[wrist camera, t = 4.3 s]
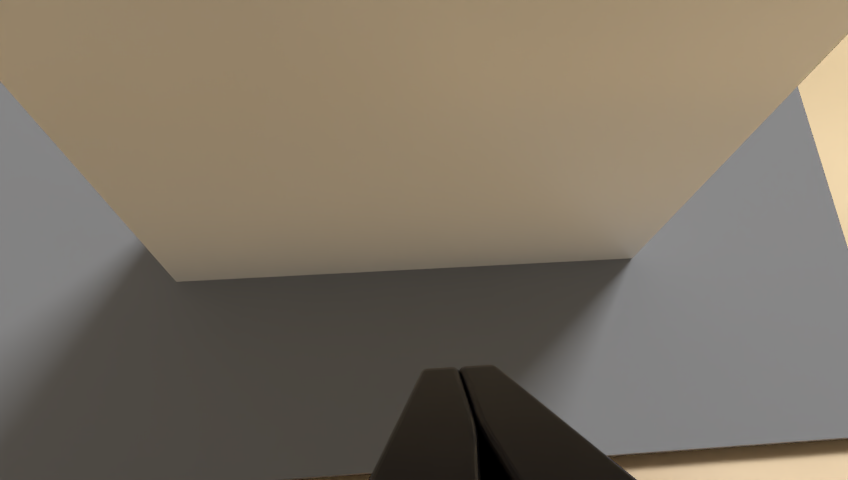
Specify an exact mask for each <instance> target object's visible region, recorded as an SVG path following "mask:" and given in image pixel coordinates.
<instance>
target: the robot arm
mask: <svg viewBox="0 0 848 480" xmlns="http://www.w3.org/2000/svg"><path fill="white" fill-rule="evenodd" d="M369 480H636V479H635V478H634V477H633V476H631V475H630V474H629V473H628V472H626V471H625V470H624V469H623V468H621V467H620V466H619V465H618V464H616V463H615V462H614V461H613V460H612V459H610V458H609V457H608V456H607V455H605V454H604V453H603V452H602V451H600V450H599V449H598V448H597V447H595V446H594V445H593V444H592V443H591V442H589V441H588V440H587V439H586V438H584V437H583V436H582V435H581V434H579V433H578V432H577V431H576V430H574V429H573V428H572V427H571V426H570V425H568V424H567V423H566V422H565V421H563V420H562V419H561V418H560V417H558V416H557V415H556V414H555V413H553V412H552V411H551V410H550V409H548V408H547V407H546V406H545V405H544V404H542V403H541V402H540V401H539V400H537V399H536V398H535V397H534V396H532V395H531V394H530V393H529V392H527V391H526V390H525V389H524V388H523V387H521V386H520V385H519V384H518V383H516V382H515V381H514V380H513V379H511V378H510V377H509V376H508V375H506V374H505V373H504V372H503V371H502V370H500V369H499V368H498V367H496V366H494V365H490V364H489V365H474V366H464V367H462V368H460V370H459V371H458V369H456V368H455V367H442V368H427V369H424V370H423V371H422V372H421V374H420V376H419V378H418V380H417V382H416V384H415V386H414V388H413V390H412V392H411V394H410V396H409V398H408V400H407V402H406V404H405V407H404V409H403V411H402V413H401V415H400V417H399V419H398V421H397V423H396V425H395V427H394V429H393V431H392V433H391V435H390V437H389V439H388V441H387V443H386V446H385V448H384V450H383V452H382V454H381V456H380V458H379V460H378V462H377V464H376V466H375V468H374V470H373V472H372V474H371V476H370V478H369Z"/></svg>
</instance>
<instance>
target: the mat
mask: <svg viewBox="0 0 848 480" xmlns="http://www.w3.org/2000/svg"><path fill="white" fill-rule="evenodd" d="M489 364H490V365H494V366H496V367H498V368H499V369H500V370H502V371H503V372H504V373H505V374H506V375H508V376H509V377H510V378H511V379H513V380H514V381H515V382H516V383H518V384H519V385H520V386H521V387H523V388H524V389H525V390H526V391H527V392H529V393H530V394H531V395H532V396H534V397H535V398H536V399H537V400H539V401H540V402H541V403H542V404H544V405H545V406H546V407H547V408H548V409H550V410H551V411H552V412H553V413H555V414H556V415H557V416H558V417H560V418H561V419H562V420H563V421H565V422H566V423H567V424H568V425H570V426H571V427H572V428H573V429H574V430H576V431H577V432H578V433H579V434H581V435H582V436H583V437H584V438H586V439H587V440H588V441H589V442H591V443H592V444H593V445H594V446H595V447H597V448H598V449H599V450H600V451H602V452H603V453H604V454H605V455H607V456H620V455H633V454H647V453H661V452H674V451H688V450H701V449H715V448H729V447H742V446H756V445H770V444H783V443H797V442H810V441H824V440H838V439H848V248H847V244H846V241H845V238H844V235H843V231H842V228H841V225H840V222H839V219H838V215H837V212H836V209H835V206H834V202H833V199H832V196H831V193H830V190H829V186H828V183H827V180H826V177H825V173H824V170H823V167H822V164H821V161H820V157H819V154H818V151H817V148H816V144H815V141H814V138H813V135H812V132H811V128H810V125H809V122H808V119H807V115H806V112H805V109H804V106H803V103H802V99H801V96H800V93H799V90H798V86H797V87H796V88H795V89H794V90H793V91H792V92H791V94H790V95H789V96H788V97H787V98H786V99H785V100H784V101H783V102H782V103H781V104H780V105H779V106H778V107H777V108H776V109H775V110H774V111H773V112H772V113H771V114H770V115H769V116H768V117H767V119H766V120H765V121H764V122H763V123H762V124H761V125H760V126H759V127H758V128H757V129H756V130H755V131H754V132H753V133H752V134H751V135H750V136H749V137H748V138H747V139H746V140H745V141H744V142H743V144H742V145H741V146H740V147H739V148H738V149H737V150H736V151H735V152H734V153H733V154H732V155H731V156H730V157H729V158H728V159H727V160H726V161H725V162H724V163H723V164H722V165H721V166H720V167H719V168H718V170H717V171H716V172H715V173H714V174H713V175H712V176H711V177H710V178H709V179H708V180H707V181H706V182H705V183H704V184H703V185H702V186H701V187H700V188H699V189H698V190H697V191H696V192H695V193H694V195H693V196H692V197H691V198H690V199H689V200H688V201H687V202H686V203H685V204H684V205H683V206H682V207H681V208H680V209H679V210H678V211H677V212H676V213H675V214H674V215H673V216H672V217H671V218H670V219H669V221H668V222H667V223H666V224H665V225H664V226H663V227H662V228H661V229H660V230H659V231H658V232H657V233H656V234H655V235H654V236H653V237H652V238H651V239H650V240H649V241H648V242H647V243H646V244H645V246H644V247H643V248H642V249H641V250H640V251H639V252H638V253H637V254H636V255H635V256H634V257H633V258H628V259H609V260H589V261H570V262H551V263H531V264H512V265H493V266H473V267H454V268H434V269H415V270H396V271H376V272H357V273H337V274H318V275H299V276H279V277H260V278H241V279H221V280H202V281H182V282H176V281H175V280H174V279H173V278H172V277H171V275H170V274H169V273H168V272H167V271H166V270H165V269H164V267H163V266H162V265H161V264H160V263H159V262H158V261H157V259H156V258H155V257H154V256H153V255H152V254H151V253H150V251H149V250H148V249H147V248H146V247H145V246H144V245H143V243H142V242H141V241H140V240H139V239H138V238H137V237H136V235H135V234H134V233H133V232H132V231H131V230H130V229H129V227H128V226H127V225H126V224H125V223H124V222H123V221H122V220H121V218H120V217H119V216H118V215H117V214H116V213H115V212H114V210H113V209H112V208H111V207H110V206H109V205H108V204H107V202H106V201H105V200H104V199H103V198H102V197H101V196H100V194H99V193H98V192H97V191H96V190H95V189H94V188H93V186H92V185H91V184H90V183H89V182H88V181H87V180H86V178H85V177H84V176H83V175H82V174H81V173H80V172H79V171H78V169H77V168H76V167H75V166H74V165H73V164H72V163H71V161H70V160H69V159H68V158H67V157H66V156H65V155H64V153H63V152H62V151H61V150H60V149H59V148H58V147H57V145H56V144H55V143H54V142H53V141H52V140H51V139H50V137H49V136H48V135H47V134H46V133H45V132H44V131H43V129H42V128H41V127H40V126H39V125H38V124H37V123H36V122H35V120H34V119H33V118H32V117H31V116H30V115H29V114H28V112H27V111H26V110H25V109H24V108H23V107H22V106H21V104H20V103H19V102H18V101H17V100H16V99H15V98H14V96H13V95H12V94H11V93H10V92H9V91H8V90H7V88H6V87H5V86H4V85H3V84H2V83H1V82H0V480H293V479H307V478H321V477H334V476H348V475H361V474H372V472H373V470H374V468H375V466H376V464H377V462H378V460H379V458H380V456H381V454H382V452H383V450H384V448H385V446H386V443H387V441H388V439H389V437H390V435H391V433H392V431H393V429H394V427H395V425H396V423H397V421H398V419H399V417H400V415H401V413H402V411H403V409H404V407H405V404H406V402H407V400H408V398H409V396H410V394H411V392H412V390H413V388H414V386H415V384H416V382H417V380H418V378H419V376H420V374H421V372H422V371H423V370H424V369H427V368H442V367H455V368H456V369H458V371H459V370H460V368H462V367H464V366H474V365H489Z"/></svg>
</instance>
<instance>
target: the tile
mask: <svg viewBox="0 0 848 480" xmlns="http://www.w3.org/2000/svg"><path fill="white" fill-rule="evenodd" d="M847 34H848V0H0V82H1V83H2V84H3V85H4V86H5V87H6V88H7V90H8V91H9V92H10V93H11V94H12V95H13V96H14V98H15V99H16V100H17V101H18V102H19V103H20V104H21V106H22V107H23V108H24V109H25V110H26V111H27V112H28V114H29V115H30V116H31V117H32V118H33V119H34V120H35V122H36V123H37V124H38V125H39V126H40V127H41V128H42V129H43V131H44V132H45V133H46V134H47V135H48V136H49V137H50V139H51V140H52V141H53V142H54V143H55V144H56V145H57V147H58V148H59V149H60V150H61V151H62V152H63V153H64V155H65V156H66V157H67V158H68V159H69V160H70V161H71V163H72V164H73V165H74V166H75V167H76V168H77V169H78V171H79V172H80V173H81V174H82V175H83V176H84V177H85V178H86V180H87V181H88V182H89V183H90V184H91V185H92V186H93V188H94V189H95V190H96V191H97V192H98V193H99V194H100V196H101V197H102V198H103V199H104V200H105V201H106V202H107V204H108V205H109V206H110V207H111V208H112V209H113V210H114V212H115V213H116V214H117V215H118V216H119V217H120V218H121V220H122V221H123V222H124V223H125V224H126V225H127V226H128V227H129V229H130V230H131V231H132V232H133V233H134V234H135V235H136V237H137V238H138V239H139V240H140V241H141V242H142V243H143V245H144V246H145V247H146V248H147V249H148V250H149V251H150V253H151V254H152V255H153V256H154V257H155V258H156V259H157V261H158V262H159V263H160V264H161V265H162V266H163V267H164V269H165V270H166V271H167V272H168V273H169V274H170V275H171V277H172V278H173V279H174V280H175V281H176V282H182V281H202V280H221V279H241V278H260V277H279V276H299V275H318V274H337V273H357V272H376V271H396V270H415V269H434V268H454V267H473V266H493V265H512V264H531V263H551V262H570V261H589V260H609V259H628V258H633V257H634V256H635V255H636V254H637V253H638V252H639V251H640V250H641V249H642V248H643V247H644V246H645V244H646V243H647V242H648V241H649V240H650V239H651V238H652V237H653V236H654V235H655V234H656V233H657V232H658V231H659V230H660V229H661V228H662V227H663V226H664V225H665V224H666V223H667V222H668V221H669V219H670V218H671V217H672V216H673V215H674V214H675V213H676V212H677V211H678V210H679V209H680V208H681V207H682V206H683V205H684V204H685V203H686V202H687V201H688V200H689V199H690V198H691V197H692V196H693V195H694V193H695V192H696V191H697V190H698V189H699V188H700V187H701V186H702V185H703V184H704V183H705V182H706V181H707V180H708V179H709V178H710V177H711V176H712V175H713V174H714V173H715V172H716V171H717V170H718V168H719V167H720V166H721V165H722V164H723V163H724V162H725V161H726V160H727V159H728V158H729V157H730V156H731V155H732V154H733V153H734V152H735V151H736V150H737V149H738V148H739V147H740V146H741V145H742V144H743V142H744V141H745V140H746V139H747V138H748V137H749V136H750V135H751V134H752V133H753V132H754V131H755V130H756V129H757V128H758V127H759V126H760V125H761V124H762V123H763V122H764V121H765V120H766V119H767V117H768V116H769V115H770V114H771V113H772V112H773V111H774V110H775V109H776V108H777V107H778V106H779V105H780V104H781V103H782V102H783V101H784V100H785V99H786V98H787V97H788V96H789V95H790V94H791V92H792V91H793V90H794V89H795V88H796V87H797V86H798V85H799V84H800V83H801V82H802V81H803V80H804V79H805V78H806V77H807V76H808V75H809V74H810V73H811V72H812V71H813V70H814V69H815V68H816V66H817V65H818V64H819V63H820V62H821V61H822V60H823V59H824V58H825V57H826V56H827V55H828V54H829V53H830V52H831V51H832V50H833V49H834V48H835V47H836V46H837V45H838V44H839V43H840V41H841V40H842V39H843V38H844V37H845V36H846V35H847Z"/></svg>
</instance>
